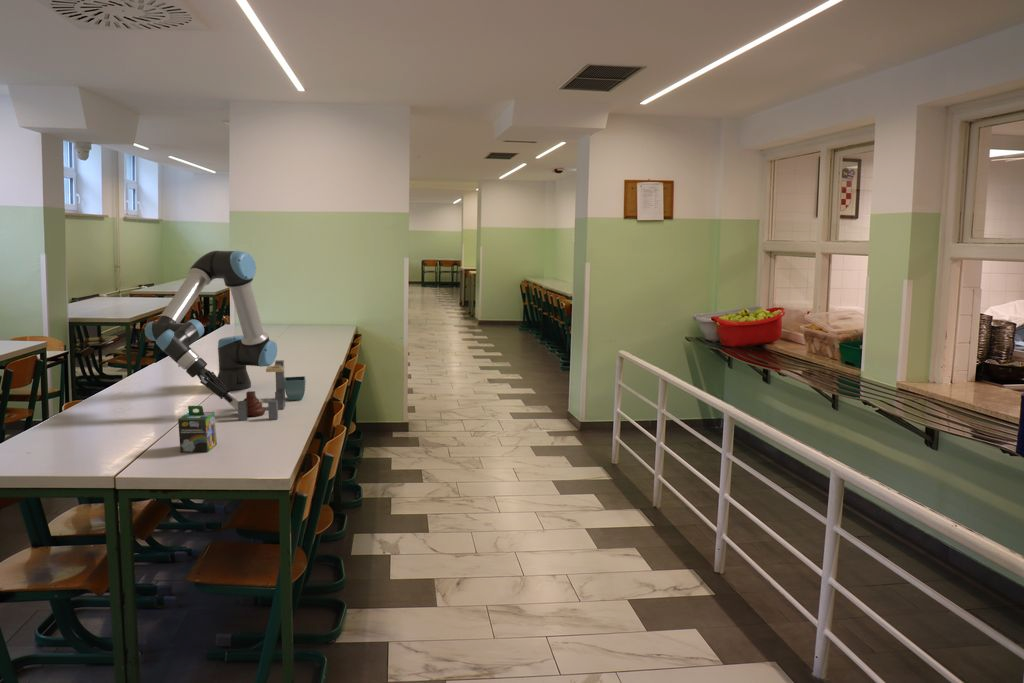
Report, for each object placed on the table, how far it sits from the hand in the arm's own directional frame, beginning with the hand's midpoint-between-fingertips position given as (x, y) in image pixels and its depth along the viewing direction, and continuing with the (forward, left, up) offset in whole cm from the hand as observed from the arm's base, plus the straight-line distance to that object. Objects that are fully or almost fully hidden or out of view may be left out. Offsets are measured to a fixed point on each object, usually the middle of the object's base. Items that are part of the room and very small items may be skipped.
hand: (238, 406), depth 310 cm
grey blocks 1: (+2, +2, -4) cm, 5 cm away
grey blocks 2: (+13, +4, -4) cm, 14 cm away
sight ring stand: (+13, +9, -4) cm, 16 cm away
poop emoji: (+4, +2, -4) cm, 6 cm away
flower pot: (+13, +30, -4) cm, 33 cm away
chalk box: (+4, -46, -4) cm, 46 cm away
